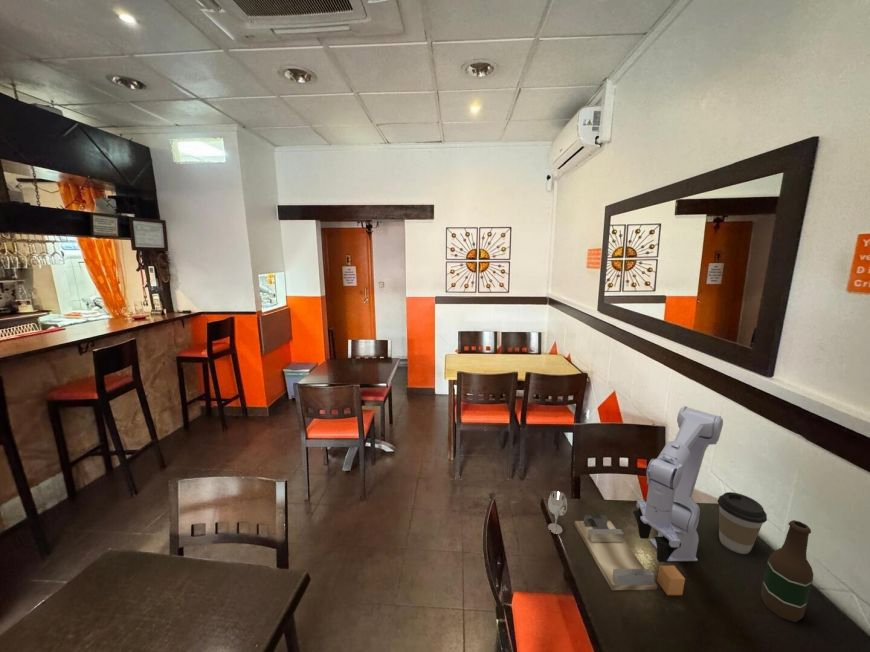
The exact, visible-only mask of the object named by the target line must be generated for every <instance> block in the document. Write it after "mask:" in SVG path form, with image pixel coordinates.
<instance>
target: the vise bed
mask: <svg viewBox="0 0 870 652" xmlns="http://www.w3.org/2000/svg"><path fill="white" fill-rule="evenodd" d="M574 526H575V527H574V528H576V530H577V532H578V534H579V535H580V537H581V539H582V540H583V542H584V544H585V546H586V548H587V549H588V551H589V553H590V554H591V557H592V558H593V560H594V561H595V563H596V565H597V567H598V568H599V570H600V572H601V574H602V576H603V577H604V579H605V581H606V582H607V584H608V586H609V587H610V590H611V591H647V590H648V591H649V590H650V591H653V590H654V591H655V590H657V588H658V587H657V586H658V584H657V583H656V582H655V581H654V584H653V585H616V584H615V582H614V581H613V579H612V576H613V569H646V568H645V567H644V565H643V564H642V562H641V561H640V560H639V558H638V557H637V556H636V554H635V552H634V551H633V550H632V549H631V547H630V546H629V544H628V543H627V541H626V540H625V538H624V539H623V542H590V540H589V538H588V531H589V529H593V527H592V526H585V524H584V520H575V521H574ZM607 527H608V528H609V529H617V528H616V527H615V525H614V524H613V523H612V521H611V520H608V522H607Z"/></svg>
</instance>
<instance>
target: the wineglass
mask: <svg viewBox="0 0 870 652" xmlns="http://www.w3.org/2000/svg"><path fill="white" fill-rule="evenodd" d="M547 508H548V510H549V511H550V513H551V514H553V515H554V523H553V522H552V523H549V524H548V526H547V528H548V530H549V531H550V530H551V531H550V532H551V533H553V534H557V535H560V534H562V533H563V528H562V526H561V525H559V524H557V521H558V518H559V517H560V516H563V515H565V514H566V512H567V509H568V501H567V496H566V495H565V493H564V492H561V491H559V490H553V491H551V492H550V495H549V497H548V501H547Z"/></svg>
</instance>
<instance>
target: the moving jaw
mask: <svg viewBox="0 0 870 652" xmlns="http://www.w3.org/2000/svg"><path fill="white" fill-rule="evenodd" d="M583 521H584V524H585V526H592V527H593V529H589V531H588V538H589V540H590V542H623V539H624V540H625V538H624V536H625V533H624V532H623V530H622V529H620V528H616V529H609V528H608V527H607V522H608V521H609V518H608V516H607V515H606V514H591V515H590V514H587V515H586V514H585V515H584V516H583Z"/></svg>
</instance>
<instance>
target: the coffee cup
mask: <svg viewBox="0 0 870 652" xmlns="http://www.w3.org/2000/svg"><path fill="white" fill-rule="evenodd" d="M716 501H717V504H718V507H719V508H718V509H719V512H718V514H719V515H718V516H719V518H718V519H719V521H718V525H719V526H718V536H719V541H720V542H721V544H722V546H724V547H725V548H726V549H728V550H730V551H732V552H734V553H738V554H740V555H747V554H749V553H750V552H751V551H752V549H753V547H754V544H755V542H756V539H757V537H758V535H759V534H760V531H761V528H762V526H763V524H765V522H767V521H768V516H767V515H768V514H767V513H766V512H765V510H764V507H763V506H762V505H761V504H760V503H759V502H758V501H756V500H755V499H753V498H752V497H750V496H748V495H744V494H741V493H737V492H732V491H729V492H725V493H723V494H722V495H720V496H718V498H717V500H716Z"/></svg>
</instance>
